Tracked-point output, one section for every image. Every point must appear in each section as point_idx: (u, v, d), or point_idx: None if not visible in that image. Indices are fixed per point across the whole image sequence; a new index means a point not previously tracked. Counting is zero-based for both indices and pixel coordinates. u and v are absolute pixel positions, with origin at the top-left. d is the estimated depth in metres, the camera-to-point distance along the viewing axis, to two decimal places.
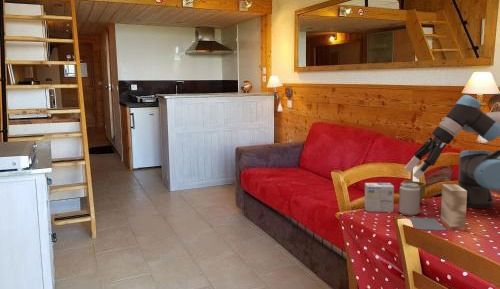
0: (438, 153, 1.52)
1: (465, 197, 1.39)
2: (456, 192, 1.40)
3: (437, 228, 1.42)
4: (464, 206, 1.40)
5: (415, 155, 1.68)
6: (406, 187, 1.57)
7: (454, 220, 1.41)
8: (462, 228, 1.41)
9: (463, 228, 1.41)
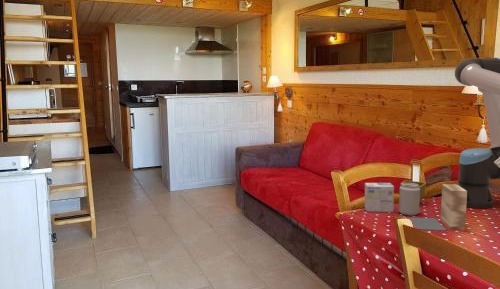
0: None
1: (465, 197, 1.39)
2: (456, 192, 1.40)
3: (437, 228, 1.42)
4: (464, 206, 1.40)
5: None
6: (406, 187, 1.57)
7: (454, 220, 1.41)
8: (462, 228, 1.41)
9: (463, 228, 1.41)
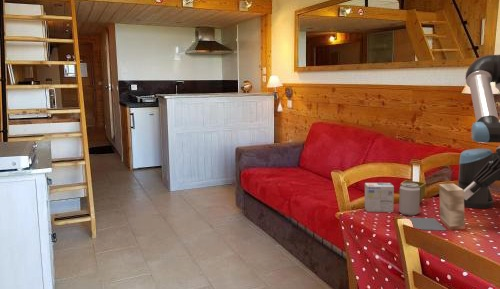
0: None
1: (462, 196, 1.40)
2: (453, 192, 1.40)
3: (437, 228, 1.42)
4: (462, 205, 1.40)
5: None
6: (406, 187, 1.57)
7: (453, 220, 1.41)
8: (462, 227, 1.41)
9: (463, 226, 1.41)
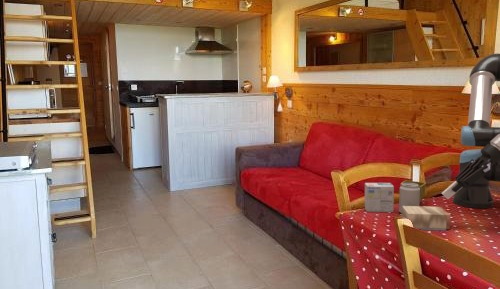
0: None
1: (415, 215, 1.43)
2: None
3: (437, 228, 1.42)
4: (424, 215, 1.42)
5: None
6: (406, 187, 1.57)
7: (439, 224, 1.42)
8: (448, 217, 1.41)
9: (447, 216, 1.41)
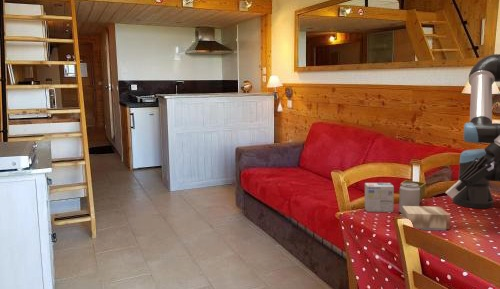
0: None
1: (415, 215, 1.43)
2: None
3: (437, 228, 1.42)
4: (424, 215, 1.42)
5: None
6: (406, 187, 1.57)
7: (439, 224, 1.42)
8: (448, 217, 1.41)
9: (447, 216, 1.41)
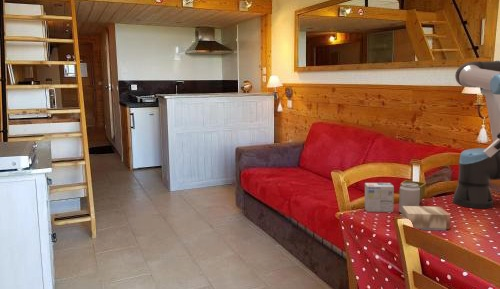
0: None
1: (415, 215, 1.43)
2: None
3: (437, 228, 1.42)
4: (424, 215, 1.42)
5: None
6: (406, 187, 1.57)
7: (439, 224, 1.42)
8: (448, 217, 1.41)
9: (447, 216, 1.41)
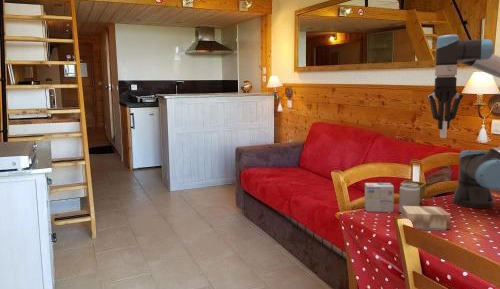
0: None
1: (415, 215, 1.43)
2: None
3: (437, 228, 1.42)
4: (424, 215, 1.42)
5: None
6: (406, 187, 1.57)
7: (439, 224, 1.42)
8: (448, 217, 1.41)
9: (447, 216, 1.41)
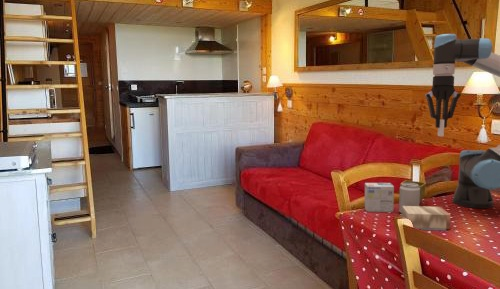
0: None
1: (415, 215, 1.43)
2: None
3: (437, 228, 1.42)
4: (424, 215, 1.42)
5: (440, 117, 1.58)
6: (406, 187, 1.57)
7: (439, 224, 1.42)
8: (448, 217, 1.41)
9: (447, 216, 1.41)
